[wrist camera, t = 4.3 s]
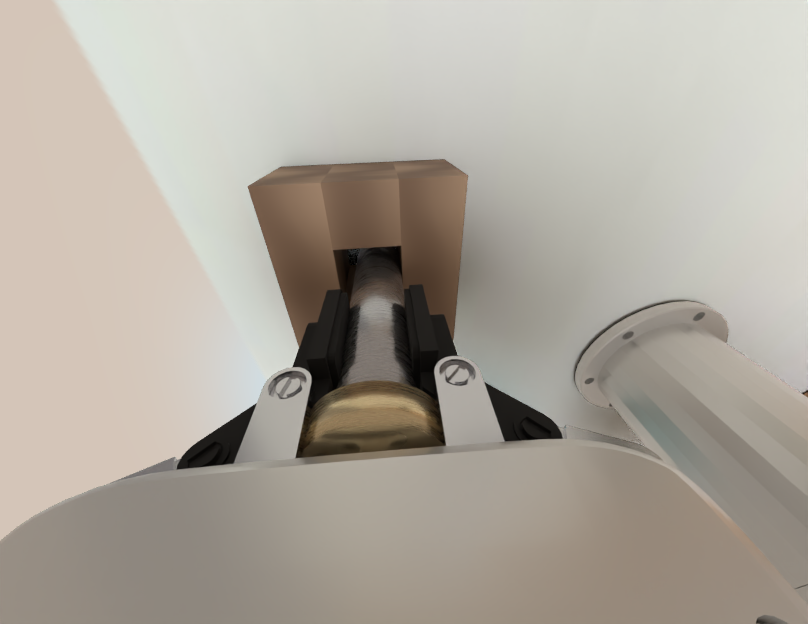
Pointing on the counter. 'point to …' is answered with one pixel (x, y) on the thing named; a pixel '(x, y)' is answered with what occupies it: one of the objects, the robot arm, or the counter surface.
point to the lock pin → (374, 373)
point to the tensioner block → (362, 229)
